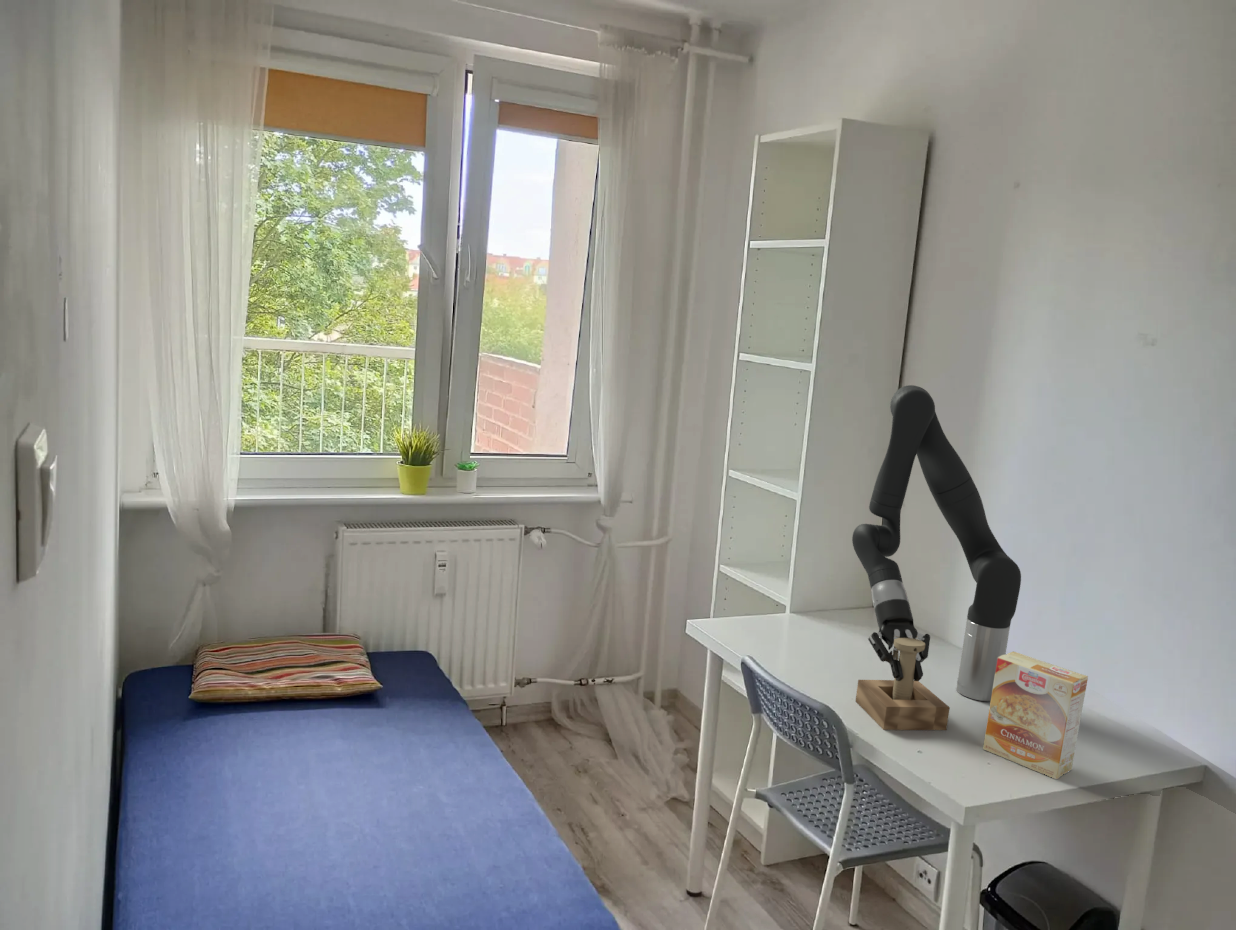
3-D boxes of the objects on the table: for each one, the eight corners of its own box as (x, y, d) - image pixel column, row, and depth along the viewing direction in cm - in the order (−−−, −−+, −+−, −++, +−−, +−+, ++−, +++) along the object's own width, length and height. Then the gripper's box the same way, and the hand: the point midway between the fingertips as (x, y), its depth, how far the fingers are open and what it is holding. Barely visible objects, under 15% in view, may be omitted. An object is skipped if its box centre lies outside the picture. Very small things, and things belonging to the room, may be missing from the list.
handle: (919, 713, 203) (929, 645, 201) (892, 714, 202) (902, 646, 199) (907, 703, 208) (916, 637, 205) (880, 704, 206) (890, 637, 204)
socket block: (914, 701, 213) (917, 680, 212) (946, 730, 199) (949, 707, 199) (855, 701, 210) (858, 679, 210) (883, 729, 197) (886, 706, 196)
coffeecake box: (981, 749, 192) (996, 656, 188) (998, 740, 196) (1013, 649, 193) (1056, 780, 181) (1073, 682, 178) (1072, 770, 186) (1089, 675, 182)
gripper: (867, 596, 207) (885, 672, 197) (928, 598, 210) (948, 673, 200) (854, 611, 213) (870, 686, 203) (914, 613, 216) (932, 686, 206)
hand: (909, 679), depth 202 cm, fingers closed on handle, 3 cm apart
